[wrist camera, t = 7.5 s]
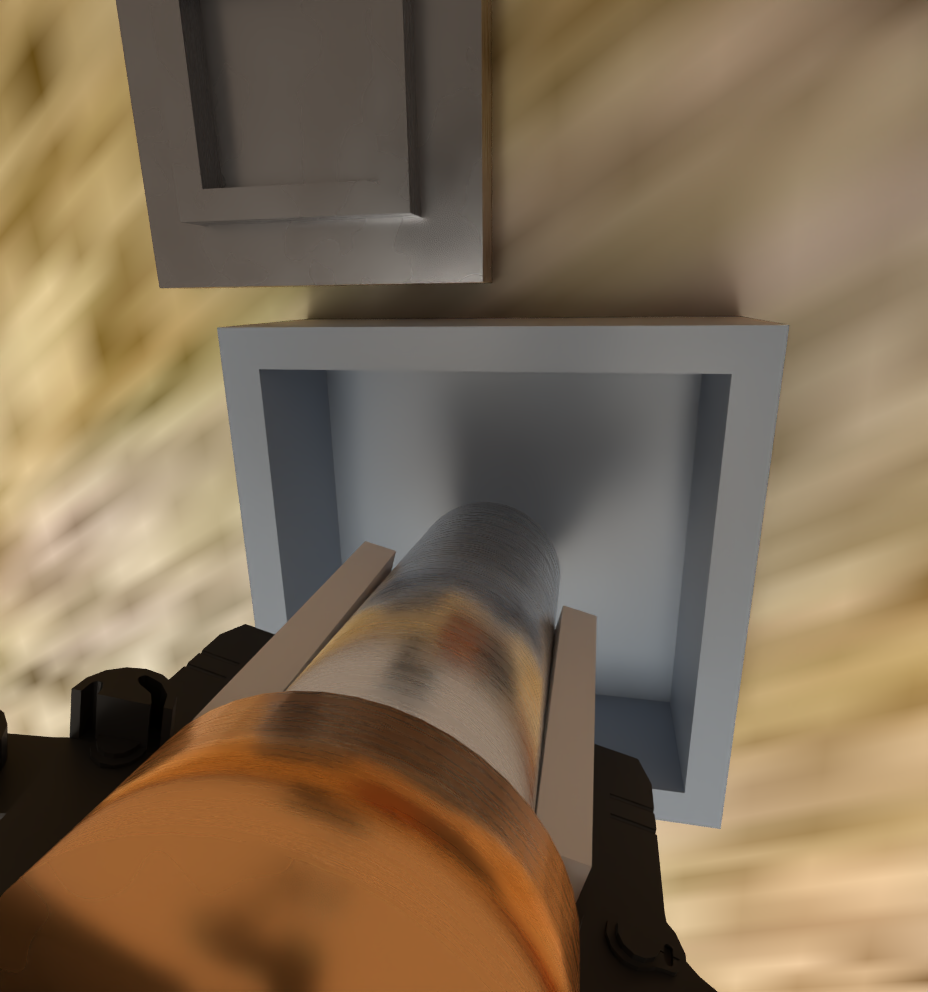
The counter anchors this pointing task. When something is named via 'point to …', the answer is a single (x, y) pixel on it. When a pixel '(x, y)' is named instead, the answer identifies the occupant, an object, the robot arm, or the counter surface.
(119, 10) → the collar plate
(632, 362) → the bin
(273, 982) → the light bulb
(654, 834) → the robot arm
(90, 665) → the counter surface
